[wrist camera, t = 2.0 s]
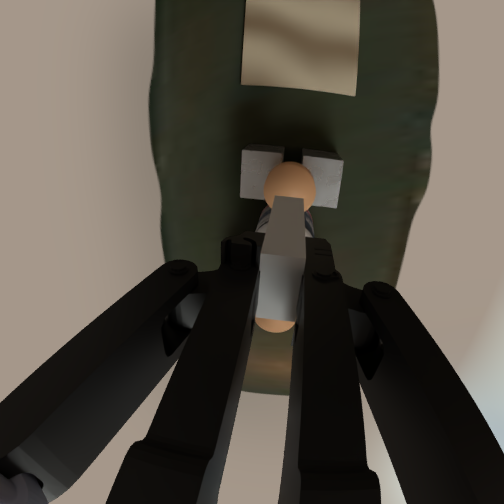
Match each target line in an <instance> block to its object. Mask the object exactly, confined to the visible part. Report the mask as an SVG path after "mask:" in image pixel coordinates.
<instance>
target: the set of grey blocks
mask: <svg viewBox="0 0 504 504" xmlns="http://www.w3.org/2000/svg"><path fill="white" fill-rule="evenodd" d="M284 151H285V146H274V145H263V144H249V145H247V146H246V147H245V148H244V149H243V150H242V164H241V186H240V198H250V199H261V200H265V197H264V184H265V181H266V178H267V176H268V174H269V172H270V171H271V170H272V169H273V168H274V167H275V166H276V165H278V164H280V163H283V162H284ZM343 162H344V161H343V159H342V158H341V157H340V156H339V154H338V153H335V152H327V151H320V150H312V149H304V148H302V159H301V164H302V165H303V166H305V167H306V168H307V169H308V170H309V171H310V172H311V174H312V176H313V178H314V182H315V187H316V196H315V199H314V202H313V204H312V205H315V206H323V207H331V208H337V203H338V197H339V190H340V183H341V176H342V169H343Z"/></svg>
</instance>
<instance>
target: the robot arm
mask: <svg viewBox="0 0 504 504" xmlns="http://www.w3.org/2000/svg"><path fill="white" fill-rule="evenodd" d="M255 315H256V317H257V318H265V319H274V320H282V321H291V322H295V320H296V323H295V328H294V333H293V338H292V343H291V346H293V355H292V369H291V383H290V396H289V408H288V419H287V430H286V440H285V450H284V459H283V468H282V477H281V485H280V494H279V500H278V504H381V491H380V484H379V478H378V476H377V474H376V472H374V471H372V470H370V469H369V468H368V466H367V458H366V443H365V432H364V421H363V411H362V401H361V392H360V385H361V387H362V389H363V392H364V394H365V397H366V399H367V402H368V404H369V406H370V409H371V411H372V414H373V416H374V419H375V421H376V424H377V426H378V429H379V431H380V434H381V436H382V439H383V441H384V444H385V446H386V449H387V451H388V454H389V457H390V459H391V462H392V465H393V467H394V470H395V472H396V475H397V478H398V481H399V483H400V486H401V489H402V492H403V495H404V497H405V500H406V503H407V504H504V453H503V451H502V449H501V448H500V445H499V444H498V442H497V440H496V438H495V436H494V434H493V433H492V431H491V429H490V427H489V425H488V424H487V422H486V420H485V418H484V417H483V415H482V413H481V412H480V410H479V408H478V407H477V405H476V403H475V402H474V400H473V398H472V397H471V395H470V394H469V392H468V390H467V389H466V387H465V385H464V384H463V383H462V381H461V379H460V378H459V376H458V375H457V373H456V372H455V370H454V369H453V367H452V365H451V364H450V363H449V361H448V359H447V358H446V357H445V355H444V354H443V353H442V351H441V349H440V348H439V346H438V345H437V344H436V342H435V341H434V339H433V338H432V337H431V335H430V334H429V332H428V331H427V329H426V328H425V327H424V325H423V324H422V323H421V321H420V320H419V319H418V317H417V316H416V315H415V313H414V312H413V311H412V309H411V308H410V306H409V305H408V304H407V302H406V301H405V300H404V299H403V297H402V296H401V295H400V293H399V292H398V291H397V290H396V289H395V288H394V287H392V286H391V285H389V284H387V283H383V282H380V281H379V282H377V281H372V282H368V283H366V284H365V285H364V287H363V290H360V289H357V288H353V287H351V286H348V285H346V284H344V283H343V279H342V276H341V274H340V273H339V272H338V271H337V270H335V265H334V260H333V255H332V249H331V245H330V244H329V243H328V242H327V241H326V239H321V238H313V237H305V219H304V199H303V198H295V197H286V196H277V195H275V197H274V201H273V205H272V209H271V214H270V218H269V222H268V226H267V230H266V233H261V232H252V231H245V232H243V233H242V234H240V235H239V236H230V237H227V238H225V239H224V240H223V241H222V242H221V265H220V267H219V269H218V270H214V271H207V272H198V269H197V266H196V265H195V264H194V263H193V262H190V261H187V260H173V261H169V262H167V263H165V264H163V265H162V266H161V267H159V268H158V269H157V270H155V271H154V272H153V273H152V274H150V275H149V276H148V277H146V278H145V279H144V280H143V281H141V282H140V283H139V284H138V285H137V286H135V287H134V288H133V289H131V290H130V291H129V292H128V293H126V294H125V295H124V296H123V297H122V298H120V299H119V300H118V301H117V302H115V303H114V304H113V305H112V306H110V307H109V308H108V309H107V310H106V311H104V312H103V313H102V314H101V315H99V316H98V317H97V318H96V319H95V320H94V321H92V322H91V323H90V324H89V325H88V326H86V327H85V328H84V329H83V330H81V331H80V332H79V333H78V334H77V335H76V336H74V337H73V338H72V339H71V340H70V341H69V342H67V343H66V344H65V345H64V346H63V347H62V348H60V349H59V350H58V351H57V352H56V353H55V354H54V355H52V356H51V357H50V358H49V359H48V360H47V361H46V362H45V363H43V364H42V365H41V366H40V367H39V368H38V369H37V370H35V371H34V372H33V373H32V374H31V375H30V376H29V377H28V378H27V379H26V380H25V381H23V382H22V383H21V384H20V385H19V386H18V387H17V388H16V389H15V390H14V391H12V392H11V393H10V394H9V395H8V396H7V397H6V398H5V399H4V400H3V401H2V402H1V403H0V504H48V503H49V502H51V501H53V500H54V499H56V498H58V497H59V496H60V495H62V494H63V493H64V492H65V491H67V490H68V489H69V488H70V487H71V486H72V485H73V484H74V483H75V482H76V481H77V480H78V479H79V478H80V477H81V475H82V474H83V473H84V472H85V471H86V469H87V468H88V467H89V466H90V465H91V463H92V462H93V461H94V460H95V459H96V458H97V456H98V455H99V454H100V453H101V452H102V450H103V449H104V448H105V447H106V446H107V444H108V443H109V442H110V441H111V439H112V438H113V437H114V436H115V435H116V434H117V432H118V431H119V430H120V429H121V428H122V426H123V425H124V424H125V423H126V422H127V420H128V419H129V418H130V417H131V416H132V414H133V413H134V412H135V411H136V410H137V408H138V407H139V406H140V405H141V403H142V402H143V401H144V400H145V399H146V397H147V396H148V395H149V394H150V393H151V391H152V390H153V389H154V388H155V386H156V385H157V384H158V383H159V382H160V380H161V379H162V378H163V377H164V376H165V374H166V373H167V372H168V371H169V370H170V368H171V367H172V366H173V365H174V363H175V362H176V361H177V360H178V362H177V364H176V366H175V369H174V371H173V373H172V376H171V378H170V380H169V383H168V385H167V388H166V390H165V392H164V394H163V397H162V400H161V402H160V404H159V406H158V409H157V411H156V414H155V416H154V419H153V421H152V423H151V426H150V428H149V430H148V433H147V435H146V437H145V438H144V439H143V440H140V441H136V442H135V443H133V445H131V446H130V448H129V450H128V452H127V454H126V455H125V458H124V460H123V463H122V465H121V467H120V470H119V472H118V474H117V477H116V479H115V482H114V484H113V486H112V489H111V491H110V494H109V496H108V499H107V501H106V504H217V501H218V494H219V488H220V484H221V480H222V475H223V471H224V466H225V462H226V457H227V453H228V449H229V444H230V439H231V435H232V430H233V426H234V421H235V417H236V412H237V407H238V403H239V398H240V394H241V389H242V384H243V379H244V375H245V370H246V365H247V360H248V355H249V351H250V346H251V341H252V336H253V331H254V326H255ZM359 383H360V384H359Z"/></svg>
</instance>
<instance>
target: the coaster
mask: <svg viewBox="0 0 504 504" xmlns="http://www.w3.org/2000/svg"><path fill="white" fill-rule="evenodd" d="M359 26H360V0H246V13H245V27H244V43H243V59H242V76H241V85H258V86H274V87H287V88H298V89H307V90H315V91H323V92H330V93H337V94H344V95H350V96H355V93H356V81H357V67H358V50H359Z"/></svg>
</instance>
